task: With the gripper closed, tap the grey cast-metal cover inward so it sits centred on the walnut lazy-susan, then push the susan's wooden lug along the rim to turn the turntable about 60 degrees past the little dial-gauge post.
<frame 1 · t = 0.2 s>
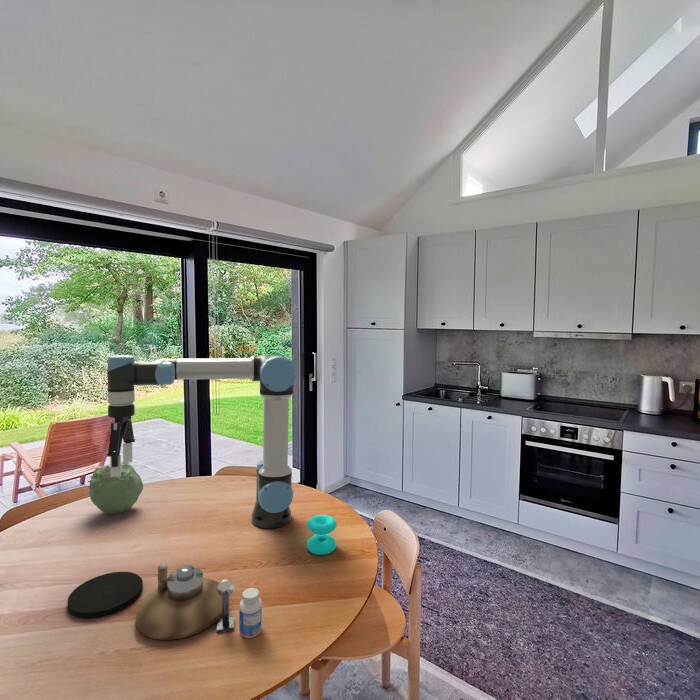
hand: (122, 469, 136), 28 cm above the table, fingers open, 13 cm apart
donuts: (321, 549, 142), on the table
cabbage: (116, 512, 166), on the table
pill bottle: (250, 631, 103), on the table
turntable: (182, 593, 110), point 5 cm above the table, hinge at 0.0°, touching cover
wireless charger: (106, 598, 115), on the table
dial post: (225, 626, 105), on the table
cover: (185, 590, 115), point 2 cm above the table, touching turntable
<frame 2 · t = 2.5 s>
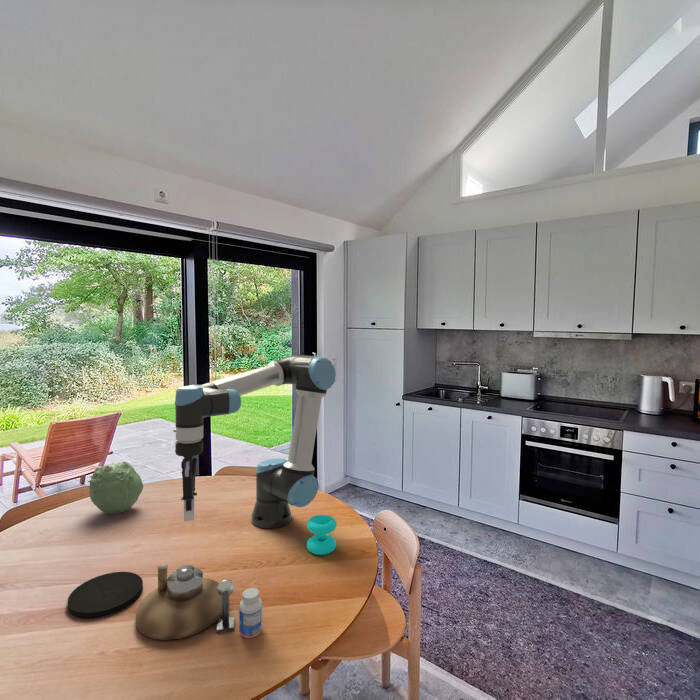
hand: (189, 519, 123), 18 cm above the table, fingers closed
nothing on the table moved.
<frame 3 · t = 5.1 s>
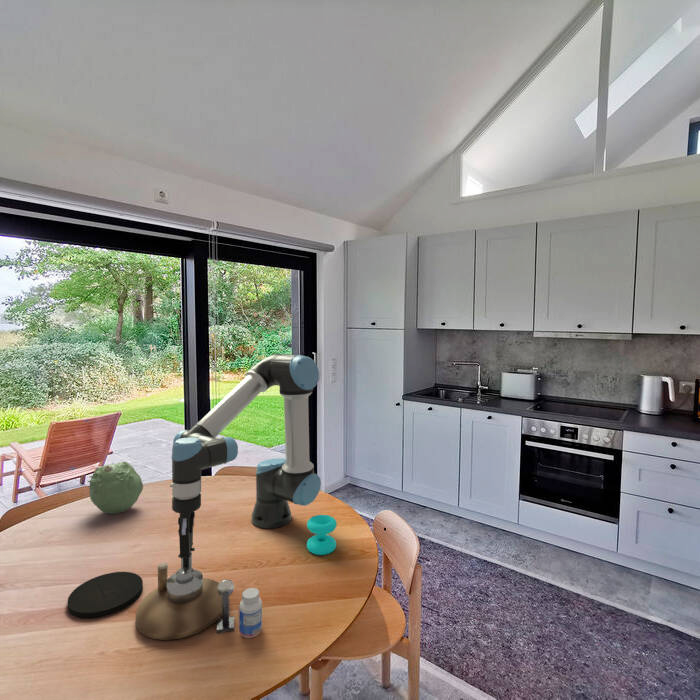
hand: (186, 576, 118), 4 cm above the table, fingers closed
cover: (185, 593, 114), point 2 cm above the table, touching gripper, turntable
everything else where it was.
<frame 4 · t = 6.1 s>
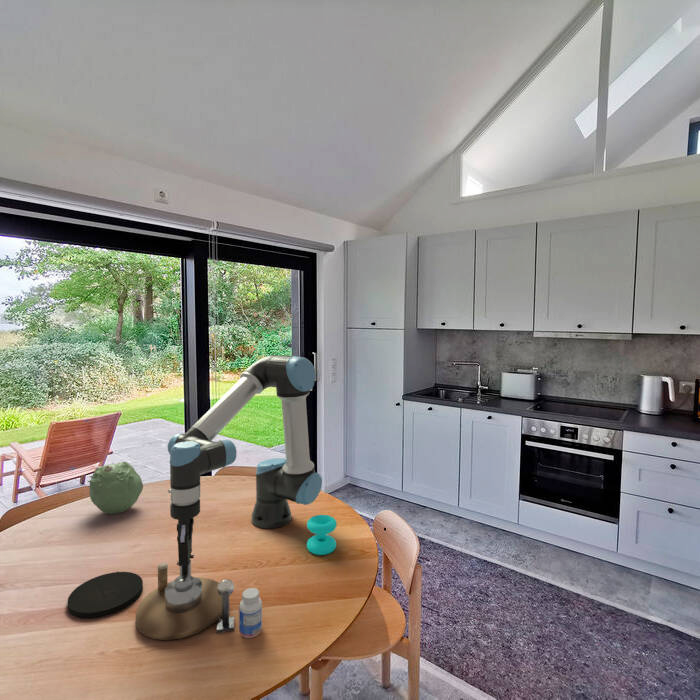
hand: (185, 584, 115), 4 cm above the table, fingers closed
cover: (183, 601, 110), point 2 cm above the table, touching gripper, turntable
everything else where it was.
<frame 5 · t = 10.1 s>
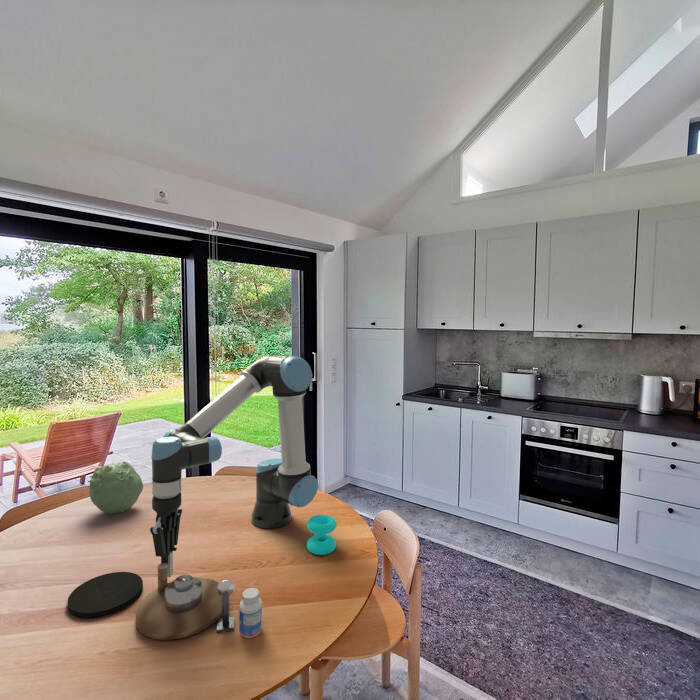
hand: (167, 575, 119), 4 cm above the table, fingers closed
turntable: (182, 593, 110), point 5 cm above the table, hinge at 0.1°, touching cover, gripper
cover: (183, 601, 110), point 2 cm above the table, touching turntable
everything else where it was.
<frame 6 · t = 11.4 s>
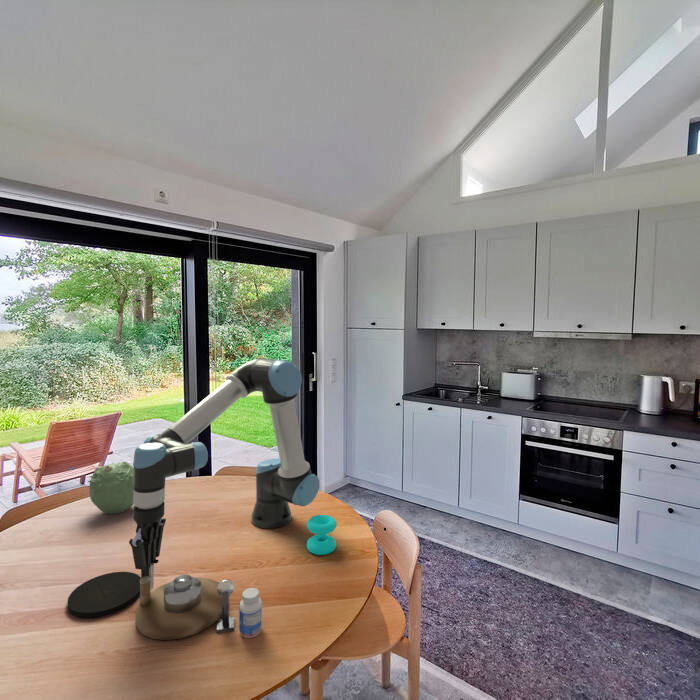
hand: (147, 588, 112), 4 cm above the table, fingers closed
turntable: (182, 593, 110), point 5 cm above the table, hinge at 39.7°, touching cover, gripper
everything else where it was.
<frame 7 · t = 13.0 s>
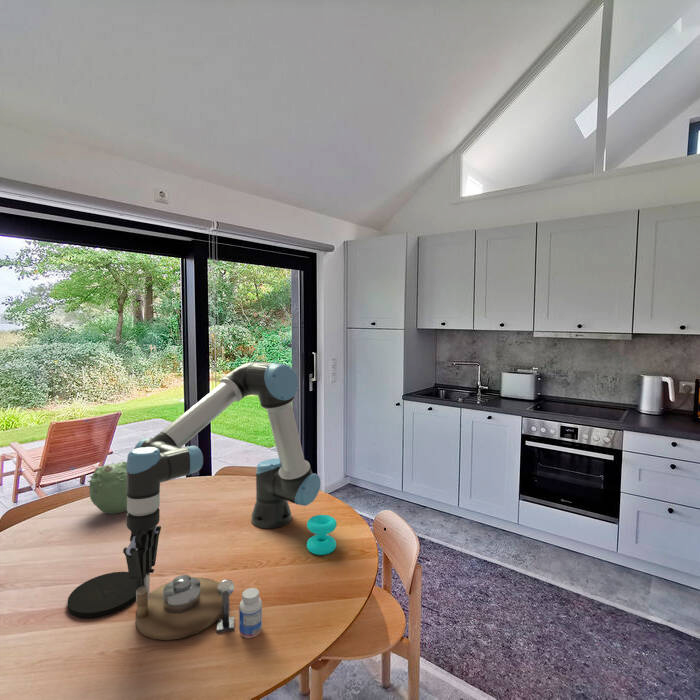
hand: (142, 599, 108), 4 cm above the table, fingers closed
turntable: (182, 593, 110), point 5 cm above the table, hinge at 66.6°, touching cover, gripper
everything else where it was.
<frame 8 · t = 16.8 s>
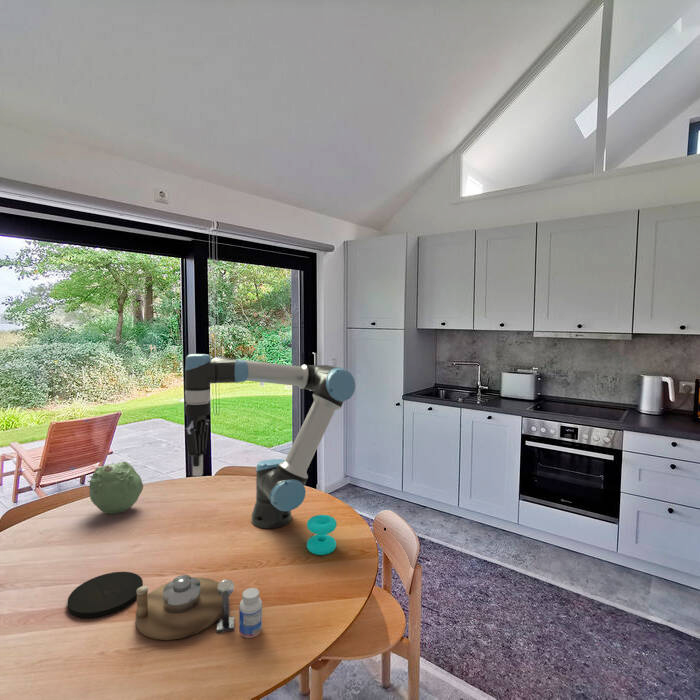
hand: (197, 474, 136), 26 cm above the table, fingers closed
turntable: (182, 593, 110), point 5 cm above the table, hinge at 66.6°, touching cover
everything else where it was.
at the end: cover 0.4 cm from the turntable (horizontally); turntable at +67° (first picture: +0°); cover tilted 0° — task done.
